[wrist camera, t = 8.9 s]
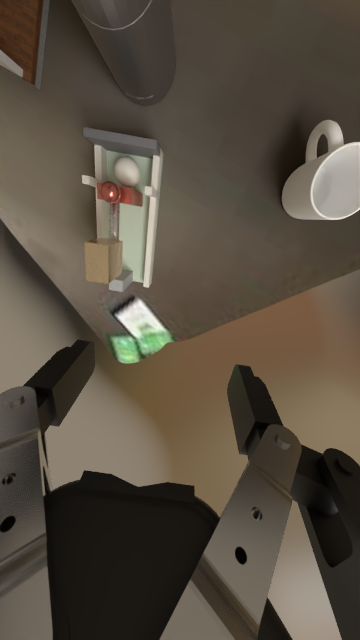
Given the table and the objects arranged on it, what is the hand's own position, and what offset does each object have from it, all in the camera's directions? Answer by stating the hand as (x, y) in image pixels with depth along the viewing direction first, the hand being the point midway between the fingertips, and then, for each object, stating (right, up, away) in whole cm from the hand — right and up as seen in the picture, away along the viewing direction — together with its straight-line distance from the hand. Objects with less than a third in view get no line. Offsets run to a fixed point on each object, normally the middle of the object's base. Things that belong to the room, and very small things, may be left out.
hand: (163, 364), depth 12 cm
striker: (-9, +19, +26) cm, 33 cm away
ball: (-7, +26, +21) cm, 34 cm away
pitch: (-8, +21, +27) cm, 35 cm away
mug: (+22, +26, +23) cm, 41 cm away
